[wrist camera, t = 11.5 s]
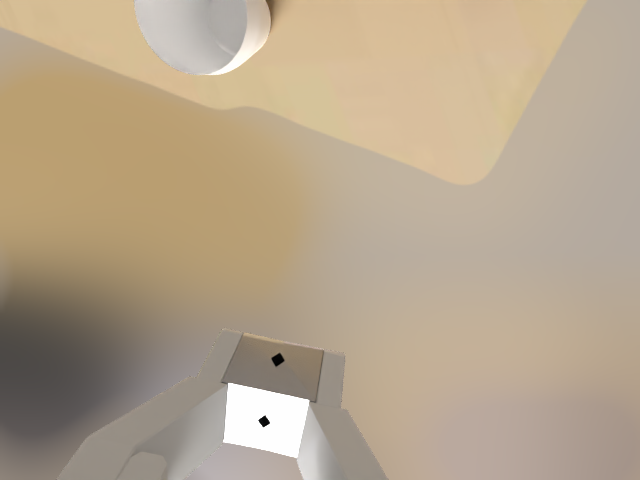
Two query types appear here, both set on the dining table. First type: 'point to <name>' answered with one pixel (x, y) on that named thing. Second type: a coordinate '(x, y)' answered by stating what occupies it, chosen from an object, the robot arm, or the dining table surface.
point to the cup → (204, 32)
